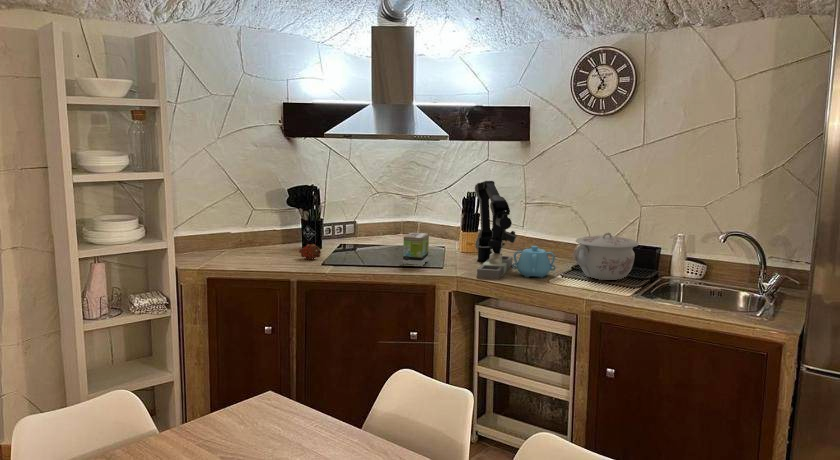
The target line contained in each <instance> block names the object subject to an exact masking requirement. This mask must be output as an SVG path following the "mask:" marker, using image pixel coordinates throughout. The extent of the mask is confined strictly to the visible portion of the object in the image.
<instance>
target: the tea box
mask: <svg viewBox="0 0 840 460" xmlns="http://www.w3.org/2000/svg"><path fill="white" fill-rule="evenodd" d="M429 238H430V234H429V233H425V232H409V233H408V234H405V235H404V236H403V247H402V248H403V249H402V250H403V251H402V253H403V254H402V258H403V259H402V264H403V263H408V264H419V265H423V263H424V262H425V261H426V260H427V259H428V260H429V249H430V248H429V246H430V239H429Z"/></svg>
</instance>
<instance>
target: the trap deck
mask: <svg viewBox="0 0 840 460" xmlns="http://www.w3.org/2000/svg"><path fill="white" fill-rule="evenodd" d="M489 261H490V258H489V259H488V260H487V261H486V262H483V263H482V264H481V265H480V266H479V267H478V268H477V269H476V278H477V279H485V280H497V281H498V280H500V279H501V278H502V277H503V276H504V275H505V274H506V273H507V272H508V270H509V269H510V268H511V267H512V265H513V256H507V255H506V256H503V255H502V263H501V264H491V263H489Z"/></svg>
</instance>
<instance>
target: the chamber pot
mask: <svg viewBox="0 0 840 460" xmlns="http://www.w3.org/2000/svg"><path fill="white" fill-rule="evenodd" d="M575 243H577V244H578V245H577V246H575V248H574V251H573V258H574V260H575V262H576V263H577V265H579V266H580V268H581V270H582V272H583V273H584V275H585V276H586V277H588V278H590V277H591V279H592V278H595V279H602V280H616V279H621V280H623V279H625V278H627V276H629V273H630V272H631V271H632V269H633V266H634V262H635V252H634V250H633V248H635V247H638V246H639V242H638V241H636V240H633V239H630V238H627V237H623V236H622V237H621V236H614V235H612V234H611V233H610V232H605V233H604V234H603V235H589V236H588V235H587V236H582V237H579V238H577V239H576V240H575ZM624 277H625V278H624ZM622 278H623V279H622ZM595 279H594V280H595Z"/></svg>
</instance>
